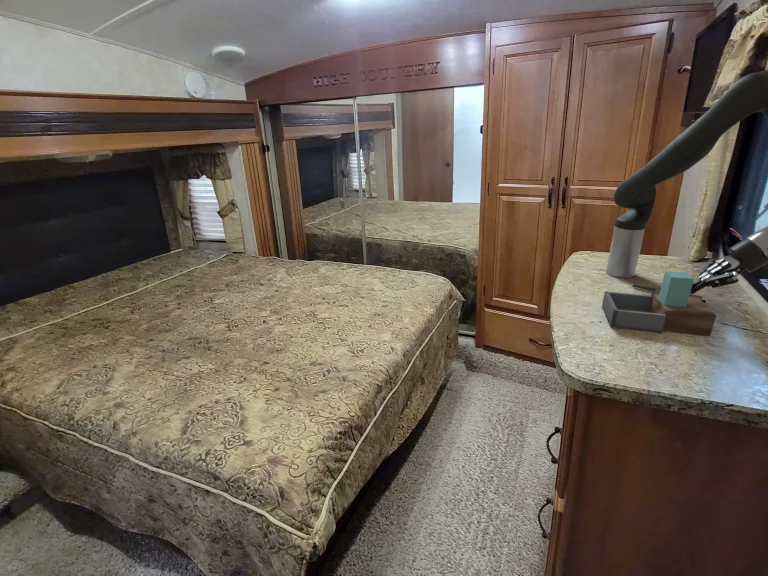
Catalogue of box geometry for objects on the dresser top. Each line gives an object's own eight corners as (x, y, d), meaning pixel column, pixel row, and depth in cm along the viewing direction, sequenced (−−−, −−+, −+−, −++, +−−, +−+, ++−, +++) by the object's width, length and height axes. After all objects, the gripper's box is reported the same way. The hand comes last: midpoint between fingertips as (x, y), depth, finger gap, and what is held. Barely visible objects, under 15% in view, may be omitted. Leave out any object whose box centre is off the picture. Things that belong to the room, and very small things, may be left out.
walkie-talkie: (706, 303, 124) (632, 287, 138) (710, 290, 123) (635, 275, 136) (701, 312, 119) (624, 295, 132) (705, 298, 117) (627, 282, 130)
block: (658, 298, 113) (665, 270, 110) (679, 300, 112) (686, 272, 109) (664, 305, 109) (671, 277, 106) (685, 307, 107) (693, 278, 104)
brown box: (648, 312, 119) (652, 293, 116) (692, 316, 115) (698, 297, 113) (660, 331, 108) (665, 310, 106) (709, 336, 105) (716, 315, 103)
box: (601, 306, 123) (604, 291, 121) (647, 311, 119) (651, 295, 118) (610, 327, 111) (613, 310, 109) (661, 333, 107) (666, 315, 105)
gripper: (736, 231, 106) (670, 272, 114) (763, 244, 94) (688, 289, 102) (755, 252, 106) (688, 291, 114) (784, 268, 94) (707, 311, 102)
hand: (688, 290), depth 108 cm, fingers closed
